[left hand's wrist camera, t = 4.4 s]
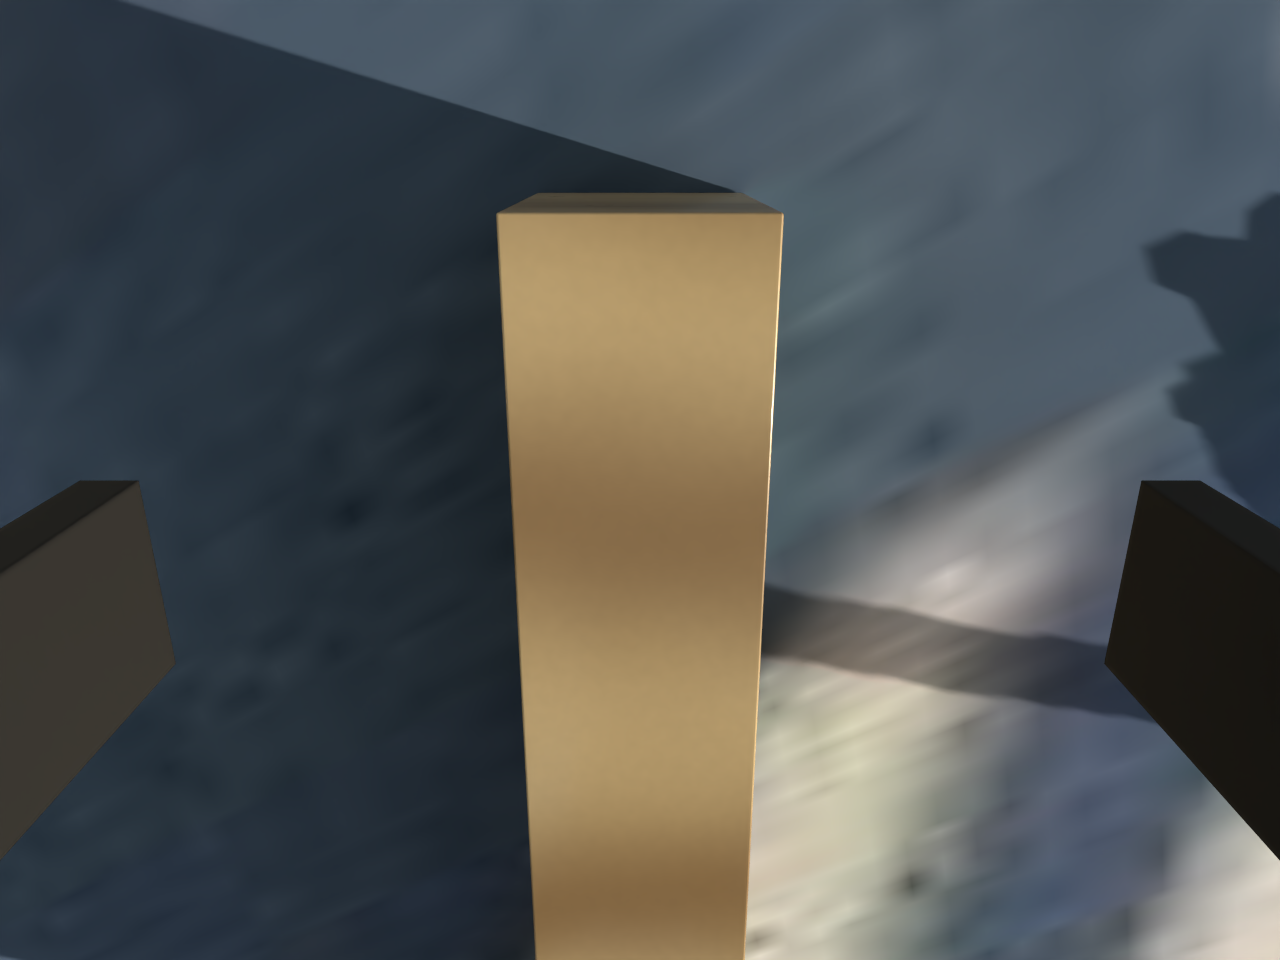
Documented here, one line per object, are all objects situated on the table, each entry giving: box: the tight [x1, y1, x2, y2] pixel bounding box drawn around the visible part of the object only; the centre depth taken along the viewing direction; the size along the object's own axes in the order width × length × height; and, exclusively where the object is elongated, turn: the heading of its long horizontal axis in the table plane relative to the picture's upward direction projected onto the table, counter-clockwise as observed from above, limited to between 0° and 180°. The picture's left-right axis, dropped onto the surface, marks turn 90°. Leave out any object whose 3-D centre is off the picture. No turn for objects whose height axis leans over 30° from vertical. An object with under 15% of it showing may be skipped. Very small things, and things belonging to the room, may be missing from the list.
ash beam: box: [496, 193, 784, 960], centre depth 29 cm, size 36×6×8 cm, turn 0°
